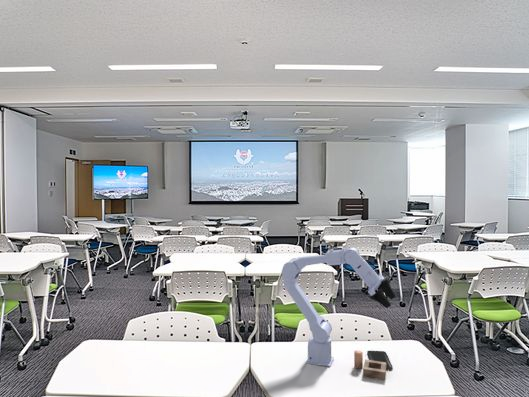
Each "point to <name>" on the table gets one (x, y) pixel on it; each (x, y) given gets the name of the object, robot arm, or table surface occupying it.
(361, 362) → the peg
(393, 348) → the table surface
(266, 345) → the table surface
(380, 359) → the phone
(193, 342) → the table surface
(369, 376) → the socket block
